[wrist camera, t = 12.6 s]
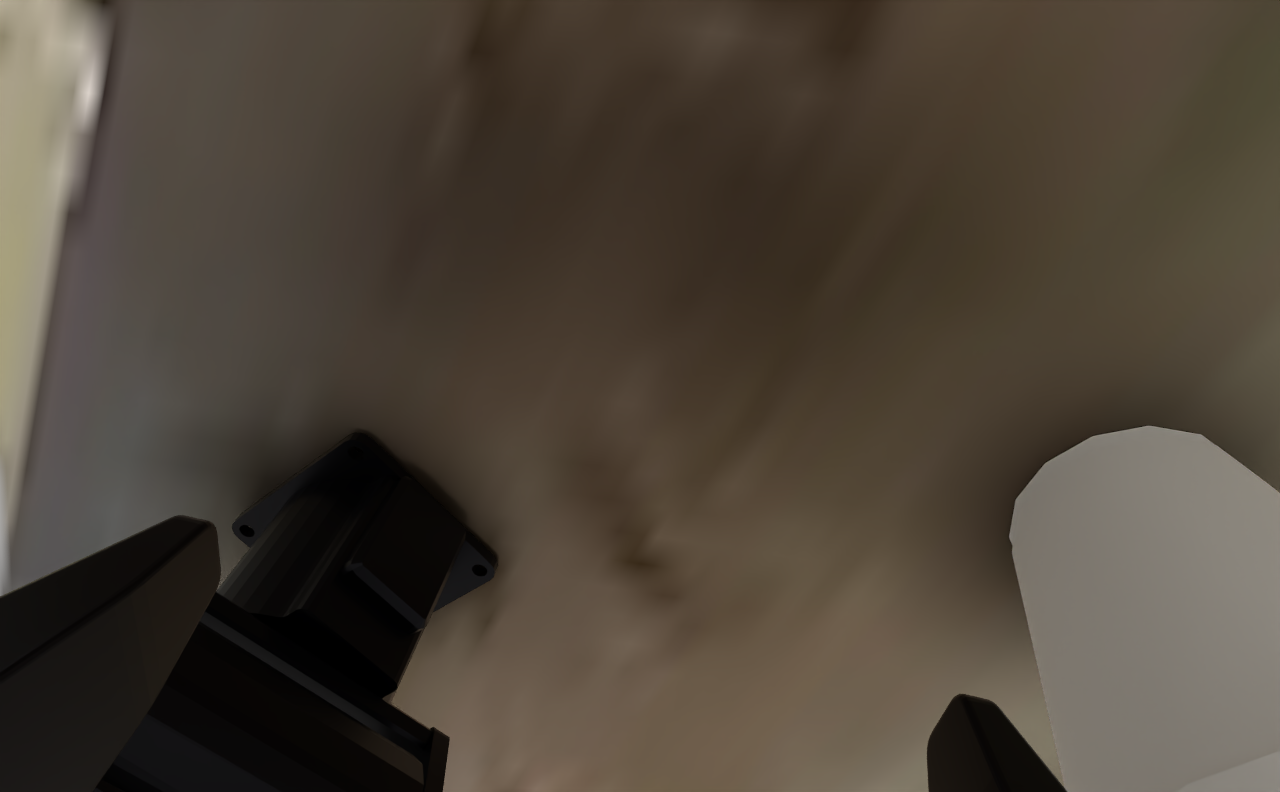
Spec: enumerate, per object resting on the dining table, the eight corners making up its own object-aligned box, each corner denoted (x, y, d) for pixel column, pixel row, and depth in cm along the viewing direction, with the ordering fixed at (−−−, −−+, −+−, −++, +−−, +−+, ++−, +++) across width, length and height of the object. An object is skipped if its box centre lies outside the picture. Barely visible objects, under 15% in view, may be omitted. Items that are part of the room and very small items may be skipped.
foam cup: (1325, 341, 20) (2053, 856, 9) (1301, 608, 24) (1779, 1188, 13) (932, 420, 22) (1124, 909, 11) (972, 652, 27) (1141, 1177, 15)
